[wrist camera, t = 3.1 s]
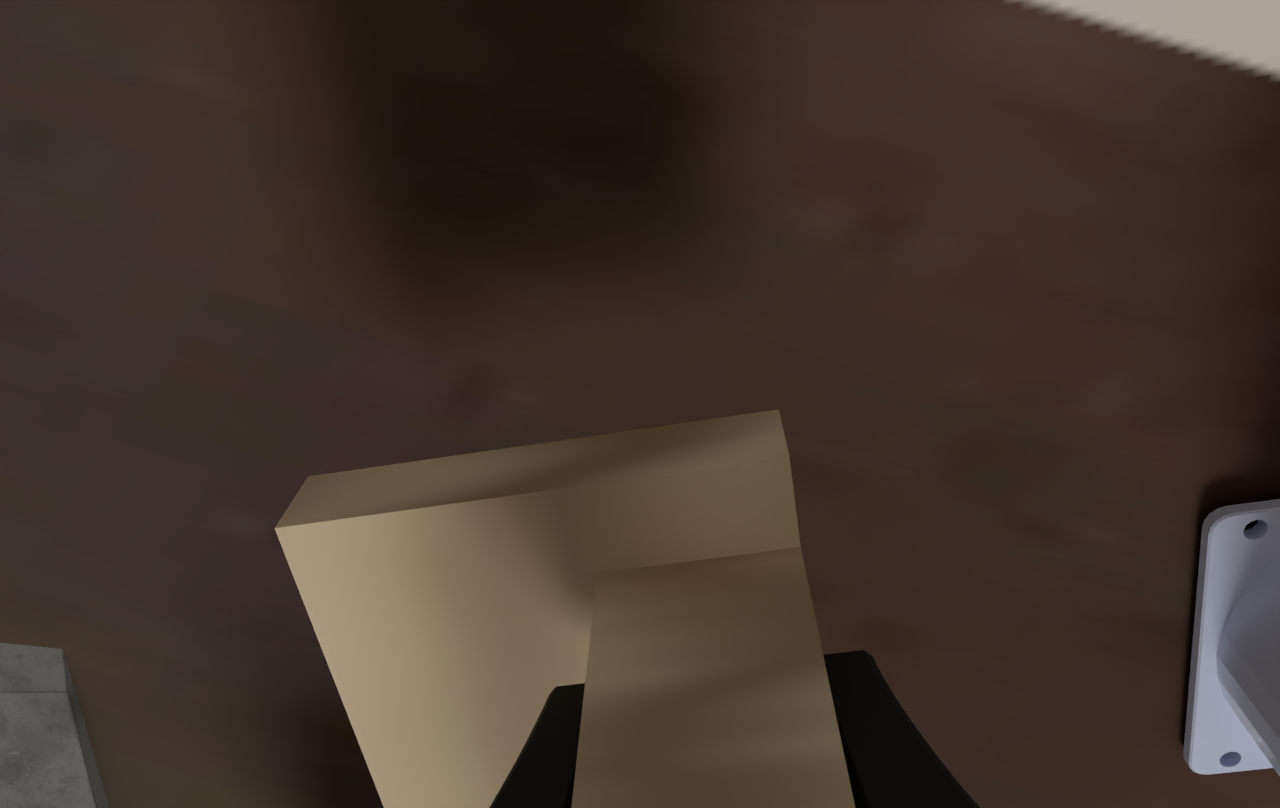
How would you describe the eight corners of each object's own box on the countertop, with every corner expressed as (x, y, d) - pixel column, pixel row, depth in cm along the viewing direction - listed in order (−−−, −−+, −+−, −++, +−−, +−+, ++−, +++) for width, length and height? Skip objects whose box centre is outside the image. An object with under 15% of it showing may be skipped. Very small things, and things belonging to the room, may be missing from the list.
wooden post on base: (778, 409, 15) (878, 851, 8) (816, 708, 18) (917, 1250, 10) (308, 476, 16) (8, 937, 9) (409, 755, 18) (243, 1289, 11)
